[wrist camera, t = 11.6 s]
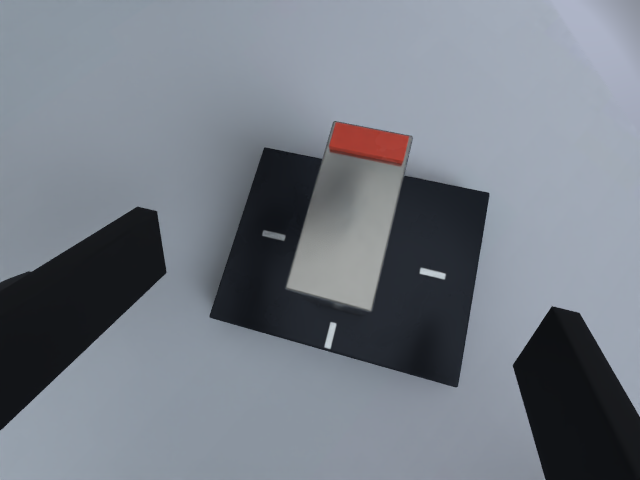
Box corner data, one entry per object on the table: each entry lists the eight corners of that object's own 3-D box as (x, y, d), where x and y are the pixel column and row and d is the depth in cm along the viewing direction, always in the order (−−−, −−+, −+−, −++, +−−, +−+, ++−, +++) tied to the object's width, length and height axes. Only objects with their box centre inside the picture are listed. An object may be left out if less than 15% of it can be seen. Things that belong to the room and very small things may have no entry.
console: (221, 318, 21) (207, 317, 19) (270, 161, 24) (263, 145, 22) (447, 381, 20) (459, 388, 17) (477, 204, 22) (491, 191, 20)
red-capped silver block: (362, 317, 19) (372, 312, 11) (310, 302, 19) (282, 288, 11) (388, 207, 20) (414, 131, 12) (339, 196, 21) (333, 116, 13)
